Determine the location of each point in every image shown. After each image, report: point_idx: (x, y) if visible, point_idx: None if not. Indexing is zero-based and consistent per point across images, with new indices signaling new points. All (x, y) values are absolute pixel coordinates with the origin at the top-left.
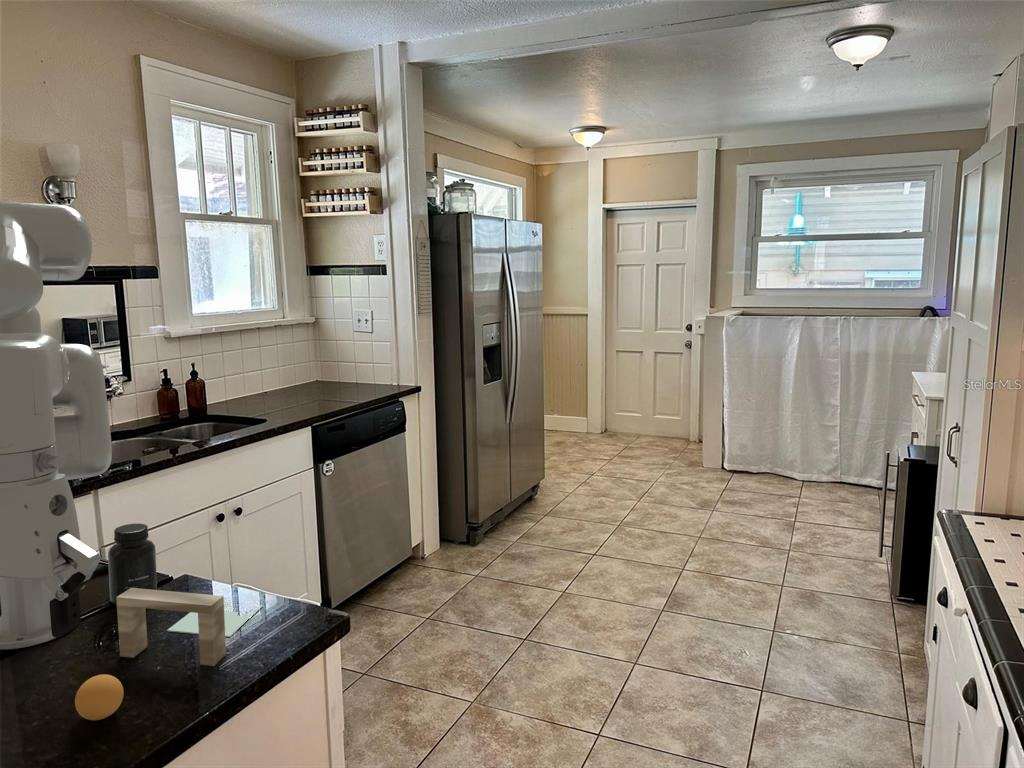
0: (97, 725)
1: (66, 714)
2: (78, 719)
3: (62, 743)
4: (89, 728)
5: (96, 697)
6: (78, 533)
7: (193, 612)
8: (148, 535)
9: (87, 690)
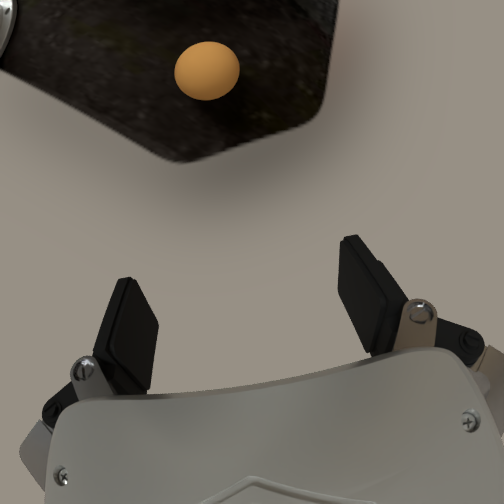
0: None
1: (160, 87)
2: None
3: (210, 127)
4: None
5: (225, 89)
6: (500, 451)
7: None
8: None
9: (207, 89)
